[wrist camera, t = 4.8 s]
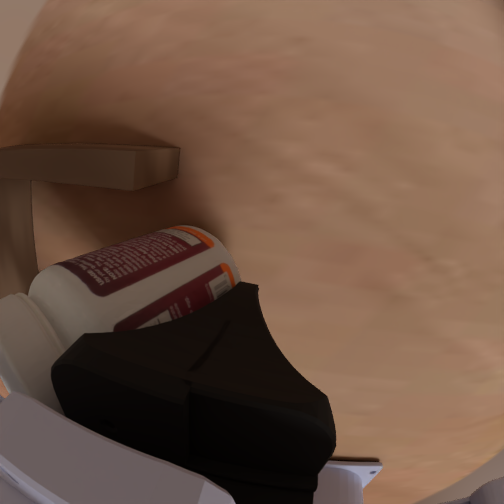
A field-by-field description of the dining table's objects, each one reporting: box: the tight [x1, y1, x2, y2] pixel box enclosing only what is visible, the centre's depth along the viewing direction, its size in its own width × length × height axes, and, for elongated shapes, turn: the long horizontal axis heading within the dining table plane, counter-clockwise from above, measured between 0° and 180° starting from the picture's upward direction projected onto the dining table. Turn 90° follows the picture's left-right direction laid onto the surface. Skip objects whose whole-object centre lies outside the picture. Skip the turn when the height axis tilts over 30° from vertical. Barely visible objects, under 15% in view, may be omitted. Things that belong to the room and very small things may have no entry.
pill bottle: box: [0, 225, 241, 417], centre depth 9 cm, size 5×5×8 cm
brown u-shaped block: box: [0, 144, 180, 299], centre depth 12 cm, size 10×10×4 cm
